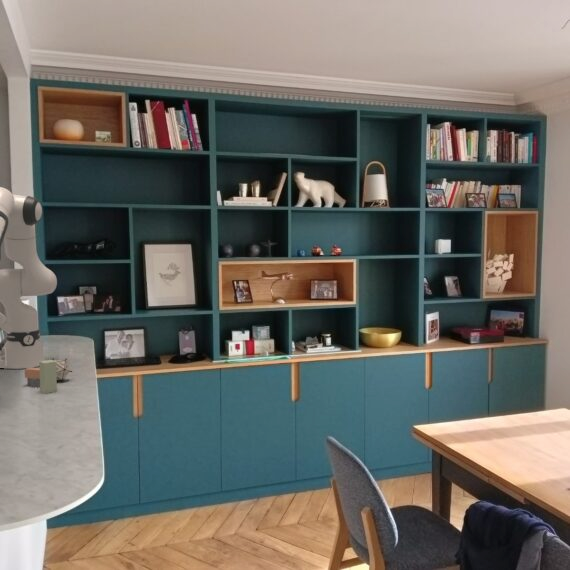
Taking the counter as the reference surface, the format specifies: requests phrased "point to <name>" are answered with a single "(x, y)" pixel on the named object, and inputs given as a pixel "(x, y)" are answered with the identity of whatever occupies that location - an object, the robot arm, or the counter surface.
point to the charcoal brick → (33, 382)
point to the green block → (48, 376)
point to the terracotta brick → (32, 373)
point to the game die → (61, 369)
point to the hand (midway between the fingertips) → (5, 330)
